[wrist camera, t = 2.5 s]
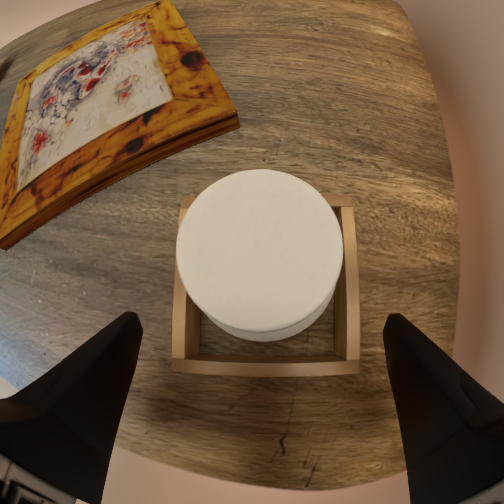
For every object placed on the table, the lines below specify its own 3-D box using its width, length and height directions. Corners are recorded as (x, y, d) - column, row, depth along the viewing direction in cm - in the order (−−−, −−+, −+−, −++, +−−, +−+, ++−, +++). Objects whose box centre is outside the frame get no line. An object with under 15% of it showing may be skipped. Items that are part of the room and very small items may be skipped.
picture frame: (-8, 245, 20) (18, 80, 28) (6, 250, 22) (24, 88, 30) (236, 110, 21) (168, -3, 28) (239, 127, 23) (171, 7, 31)
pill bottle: (285, 229, 20) (295, 127, 9) (329, 307, 19) (398, 281, 8) (206, 271, 20) (134, 207, 9) (247, 351, 19) (212, 385, 8)
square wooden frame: (345, 365, 18) (359, 373, 14) (188, 364, 19) (171, 371, 15) (340, 215, 20) (351, 194, 17) (195, 216, 21) (181, 196, 18)
